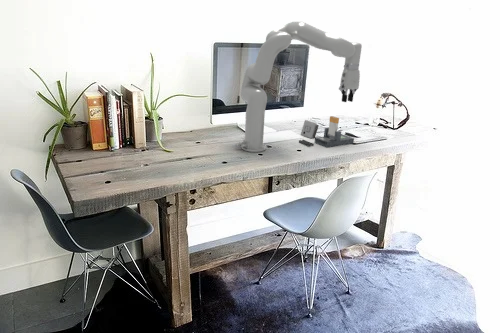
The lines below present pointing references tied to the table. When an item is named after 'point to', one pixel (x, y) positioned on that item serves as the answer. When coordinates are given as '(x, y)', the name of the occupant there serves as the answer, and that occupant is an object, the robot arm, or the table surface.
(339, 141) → the double window frame
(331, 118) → the breaker lever
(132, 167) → the table surface
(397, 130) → the table surface
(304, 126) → the electrical switch
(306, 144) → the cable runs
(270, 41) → the robot arm
